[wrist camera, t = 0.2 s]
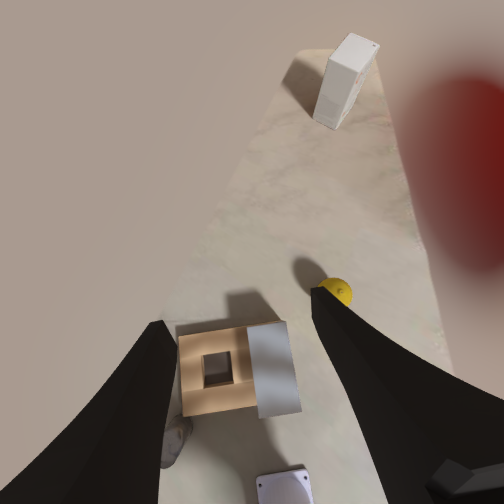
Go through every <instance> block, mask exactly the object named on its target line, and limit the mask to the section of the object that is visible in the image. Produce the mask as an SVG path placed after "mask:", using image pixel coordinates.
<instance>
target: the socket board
mask: <svg viewBox="0 0 504 504" xmlns="http://www.w3.org/2000/svg"><path fill="white" fill-rule="evenodd" d="M179 354H180V372H181V389H182V407H183V417H187V416H193V415H200V414H206V413H212V412H218V411H225V410H231V409H237V408H243V407H250V406H256V405H257V408H258V415H259V419H261V418H267V417H273V416H280V415H286V414H292V413H298V412H302V408H301V403H300V397H299V392H298V386H297V381H296V375H295V369H294V364H293V358H292V353H291V347H290V341H289V336H288V330H287V325H286V321H282V320H280V321H273V322H267V323H260V324H254V325H247V326H241V327H234V328H228V329H221V330H214V331H208V332H201V333H195V334H188V335H182V336H179Z"/></svg>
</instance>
